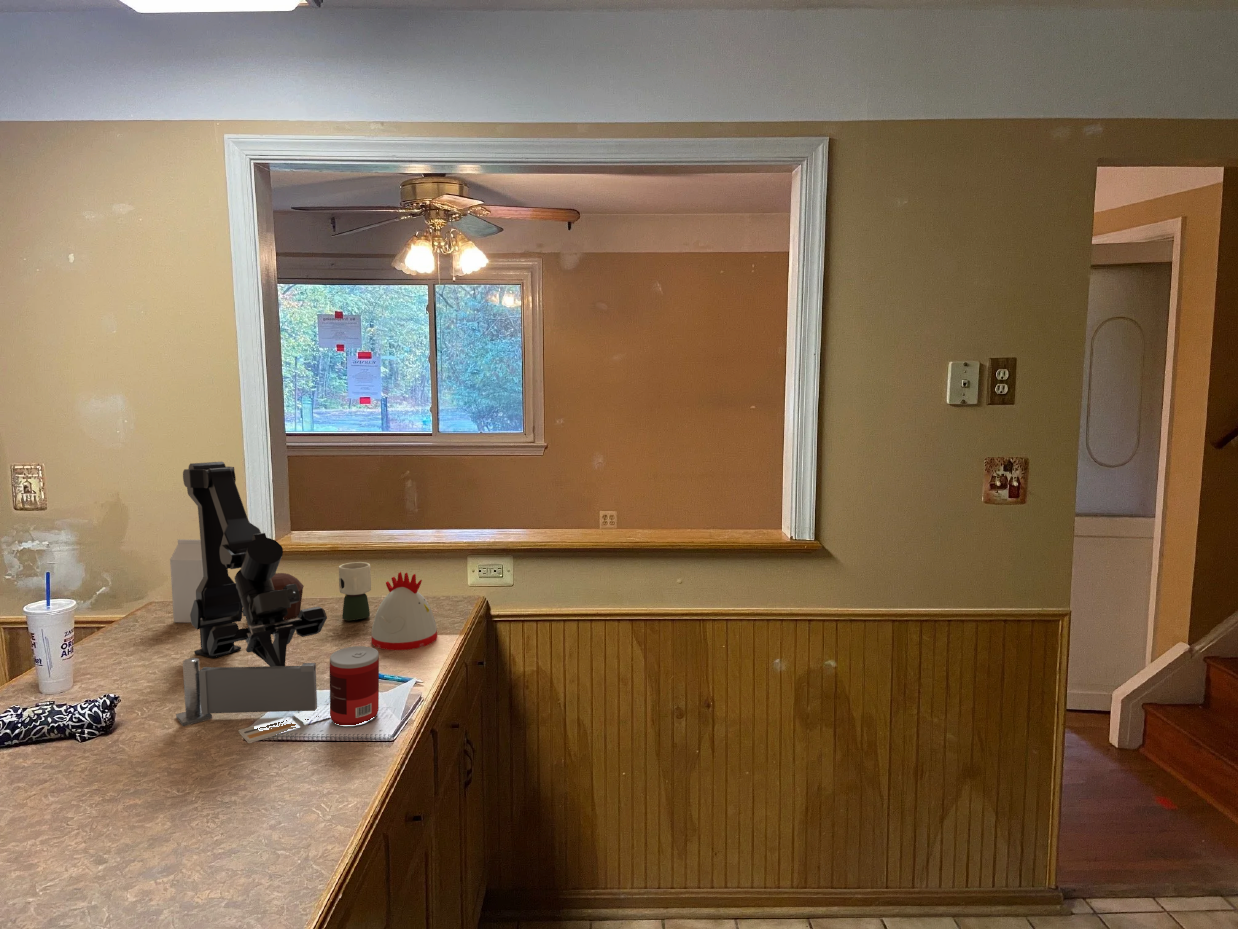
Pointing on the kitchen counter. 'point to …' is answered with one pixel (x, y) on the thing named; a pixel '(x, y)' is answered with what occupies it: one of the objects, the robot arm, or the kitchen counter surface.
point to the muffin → (279, 583)
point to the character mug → (355, 589)
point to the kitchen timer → (403, 617)
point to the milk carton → (185, 577)
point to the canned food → (354, 685)
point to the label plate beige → (263, 732)
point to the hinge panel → (258, 689)
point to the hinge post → (192, 694)
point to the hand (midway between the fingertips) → (281, 673)
